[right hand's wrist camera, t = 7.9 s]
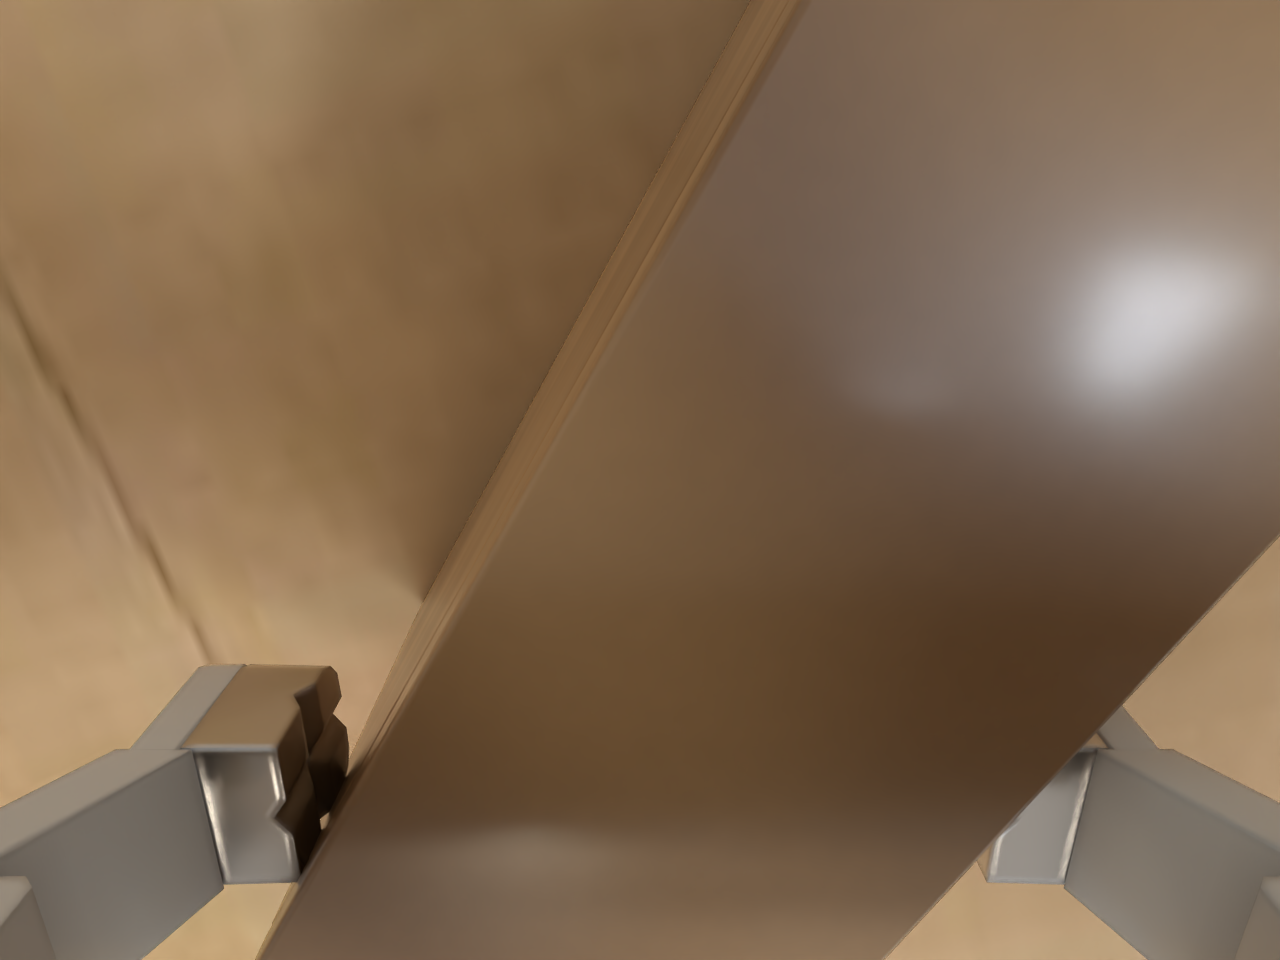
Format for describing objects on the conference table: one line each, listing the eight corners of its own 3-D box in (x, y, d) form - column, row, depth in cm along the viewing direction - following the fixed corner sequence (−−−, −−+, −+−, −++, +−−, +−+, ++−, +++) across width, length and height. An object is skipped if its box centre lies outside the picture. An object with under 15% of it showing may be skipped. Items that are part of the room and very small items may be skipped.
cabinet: (1070, -588, 10) (2212, -2511, 3) (1395, -300, 11) (2872, -1157, 4) (421, 605, 16) (235, 1001, 9) (670, 723, 18) (693, 1169, 10)
